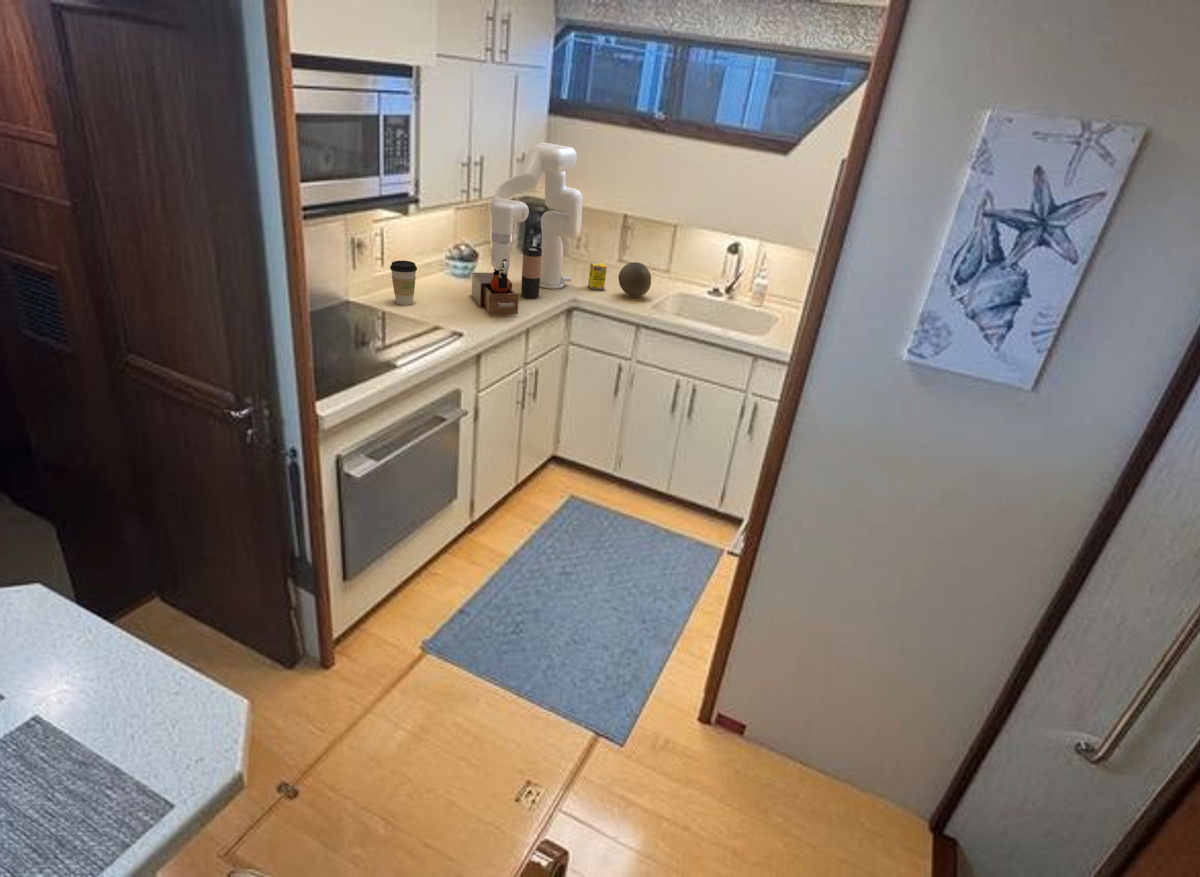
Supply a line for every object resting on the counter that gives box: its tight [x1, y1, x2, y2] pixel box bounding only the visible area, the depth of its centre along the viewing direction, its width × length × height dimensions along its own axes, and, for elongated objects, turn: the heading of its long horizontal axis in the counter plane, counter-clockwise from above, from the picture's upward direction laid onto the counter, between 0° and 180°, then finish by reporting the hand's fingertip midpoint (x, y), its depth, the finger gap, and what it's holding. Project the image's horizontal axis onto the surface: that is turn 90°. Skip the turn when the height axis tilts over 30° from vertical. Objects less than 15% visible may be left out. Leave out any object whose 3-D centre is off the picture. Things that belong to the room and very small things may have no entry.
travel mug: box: [520, 245, 542, 300], centre depth 285 cm, size 8×8×20 cm
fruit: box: [491, 275, 510, 293], centre depth 263 cm, size 7×7×8 cm
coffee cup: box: [389, 260, 418, 306], centre depth 261 cm, size 10×10×15 cm
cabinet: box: [471, 272, 513, 308], centre depth 275 cm, size 15×13×10 cm
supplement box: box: [587, 262, 607, 292], centre depth 308 cm, size 6×6×11 cm
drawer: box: [482, 285, 520, 315], centre depth 264 cm, size 18×11×8 cm, turn 22°
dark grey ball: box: [618, 262, 652, 298], centre depth 301 cm, size 14×14×15 cm
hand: (500, 284), depth 263 cm, fingers closed on fruit, 7 cm apart
